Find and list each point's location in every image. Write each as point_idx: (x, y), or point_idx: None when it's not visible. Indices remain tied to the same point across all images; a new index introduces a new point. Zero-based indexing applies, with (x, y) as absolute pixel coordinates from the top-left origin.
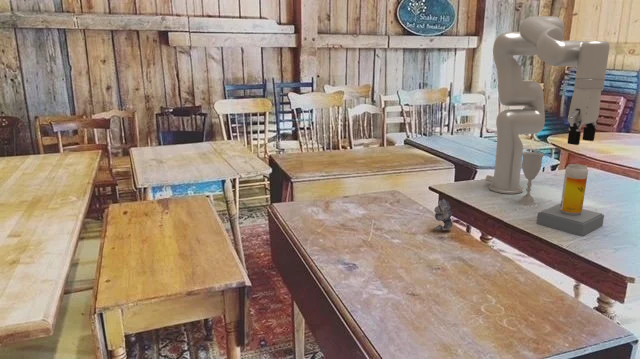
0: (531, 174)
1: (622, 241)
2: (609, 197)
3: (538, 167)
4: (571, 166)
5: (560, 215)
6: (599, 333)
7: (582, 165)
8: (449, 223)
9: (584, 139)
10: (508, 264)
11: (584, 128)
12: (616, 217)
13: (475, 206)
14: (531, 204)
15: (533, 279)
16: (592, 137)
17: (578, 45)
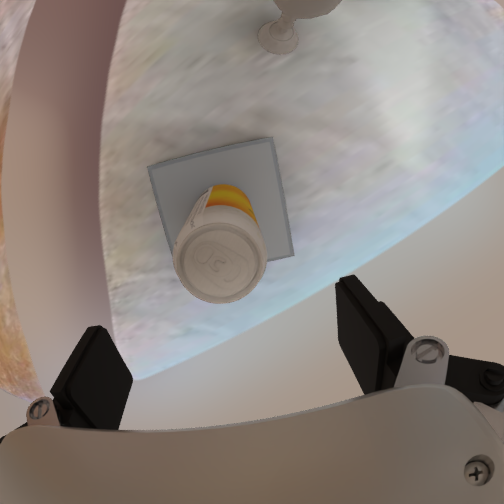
0: (281, 10)
1: (235, 316)
2: (470, 140)
3: (305, 12)
4: (195, 251)
5: (174, 216)
6: (33, 399)
7: (260, 263)
8: None
9: (337, 295)
10: (6, 289)
11: (373, 342)
12: (369, 225)
13: (125, 14)
14: (273, 52)
15: (17, 329)
16: (347, 355)
17: None
